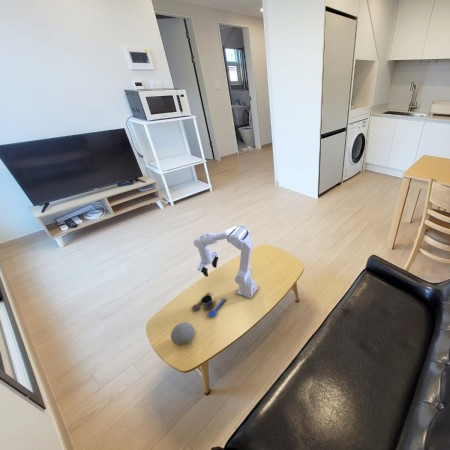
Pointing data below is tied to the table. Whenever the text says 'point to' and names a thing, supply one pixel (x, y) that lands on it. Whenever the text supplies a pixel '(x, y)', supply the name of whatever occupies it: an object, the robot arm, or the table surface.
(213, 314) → the blue spoon
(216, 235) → the robot arm
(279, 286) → the table surface
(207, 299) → the dark metal cup
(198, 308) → the wooden spoon
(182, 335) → the decorative ball
